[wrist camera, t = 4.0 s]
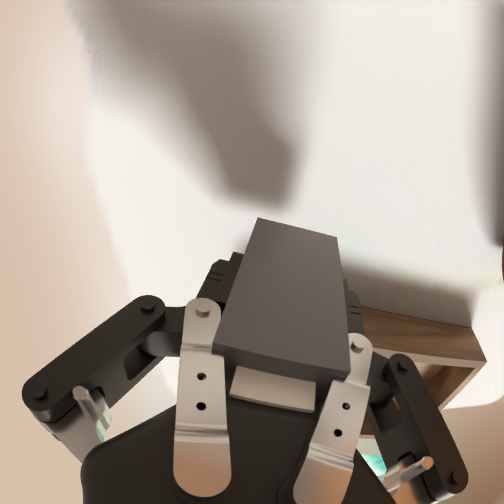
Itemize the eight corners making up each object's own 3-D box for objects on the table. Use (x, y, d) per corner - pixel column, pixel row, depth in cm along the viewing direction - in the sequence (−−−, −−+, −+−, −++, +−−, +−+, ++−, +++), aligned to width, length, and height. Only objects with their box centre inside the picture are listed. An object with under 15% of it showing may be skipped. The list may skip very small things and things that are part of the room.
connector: (257, 217, 15) (202, 369, 7) (336, 237, 14) (352, 400, 7) (244, 281, 17) (197, 427, 9) (313, 297, 17) (305, 450, 9)
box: (275, 287, 21) (268, 326, 18) (471, 328, 20) (487, 361, 17) (245, 387, 28) (238, 420, 24) (403, 409, 27) (407, 439, 24)
